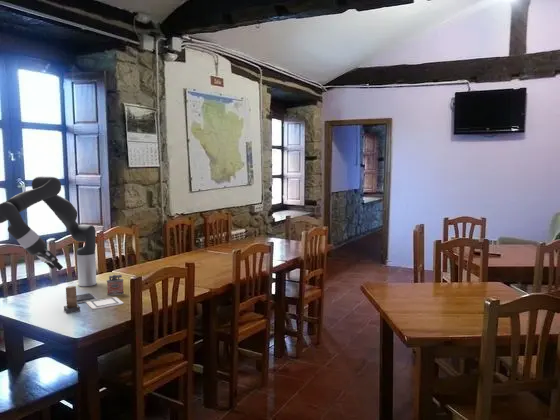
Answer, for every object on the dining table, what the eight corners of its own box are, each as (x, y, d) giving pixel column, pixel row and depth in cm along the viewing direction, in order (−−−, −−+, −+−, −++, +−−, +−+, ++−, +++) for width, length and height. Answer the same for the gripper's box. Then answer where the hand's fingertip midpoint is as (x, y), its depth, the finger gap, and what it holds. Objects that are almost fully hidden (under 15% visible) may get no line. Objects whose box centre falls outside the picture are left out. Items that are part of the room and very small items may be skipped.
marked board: (86, 303, 219) (86, 301, 219) (115, 297, 227) (115, 296, 227) (92, 309, 209) (92, 307, 209) (123, 303, 217) (123, 302, 217)
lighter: (107, 295, 231) (106, 276, 230) (107, 293, 234) (106, 274, 233) (123, 294, 233) (122, 275, 232) (124, 292, 237) (123, 273, 235)
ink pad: (68, 298, 226) (68, 296, 225) (91, 295, 232) (91, 292, 232) (73, 304, 217) (73, 301, 217) (97, 300, 223) (97, 297, 223)
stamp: (64, 310, 208) (62, 286, 207) (77, 308, 212) (76, 284, 210) (66, 313, 204) (65, 289, 203) (80, 311, 207) (78, 287, 206)
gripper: (44, 236, 191) (70, 263, 198) (32, 235, 201) (58, 260, 208) (29, 248, 187) (56, 276, 194) (18, 247, 197) (45, 272, 204)
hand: (57, 268), depth 201 cm, fingers open, 8 cm apart
